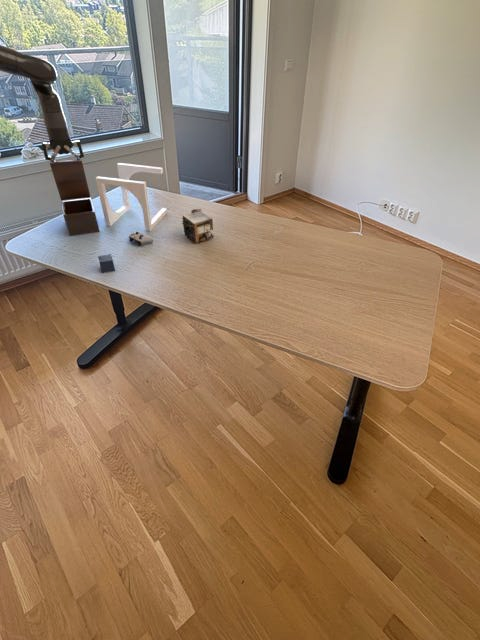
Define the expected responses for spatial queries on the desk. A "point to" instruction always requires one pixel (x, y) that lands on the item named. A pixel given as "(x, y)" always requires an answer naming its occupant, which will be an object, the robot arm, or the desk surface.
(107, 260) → the block
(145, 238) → the game controller
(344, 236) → the desk surface
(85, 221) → the storage box
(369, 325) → the desk surface
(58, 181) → the lid
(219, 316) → the desk surface
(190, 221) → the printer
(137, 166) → the white arched cube frame
